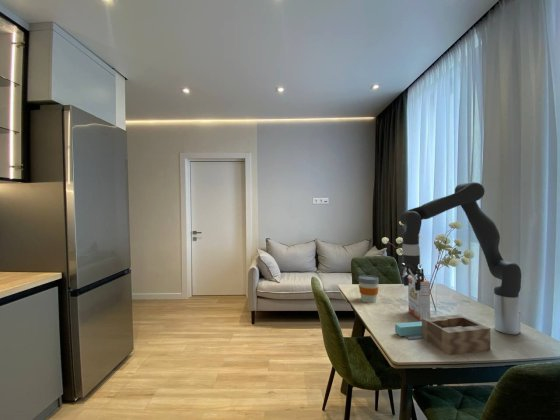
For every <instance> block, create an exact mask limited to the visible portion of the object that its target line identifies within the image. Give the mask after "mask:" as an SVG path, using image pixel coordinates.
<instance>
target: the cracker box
mask: <svg viewBox="0 0 560 420" xmlns="http://www.w3.org/2000/svg"><path fill="white" fill-rule="evenodd" d="M408 278H409V285H408V286H407V298H408V299H407V301H408V304H407V305H408V307H407V308H408V312H409V313H411V314H412V315H413V316H414V317H415V318H416V319H417V320H419V321H422V318H428V317H431V290H430V289H431V288H430V286H431V285H430V284H431V283H430V281H429V280H427V279H425V278H424V282H421V283H420V286H421V289H420V290H419V291H416V290H415V280H414V278H412V276H411V275H409V277H408ZM416 279H417V278H416ZM420 279H421V277H420Z"/></svg>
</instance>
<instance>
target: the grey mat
mask: <svg viewBox="0 0 560 420" xmlns="http://www.w3.org/2000/svg"><path fill="white" fill-rule="evenodd" d="M404 337H405V338H406V339H408V340H409V341H413V340H414V341H415V340H422V339H423V337H422V334H420V335H409V336H404ZM423 340H424V339H423Z"/></svg>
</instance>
